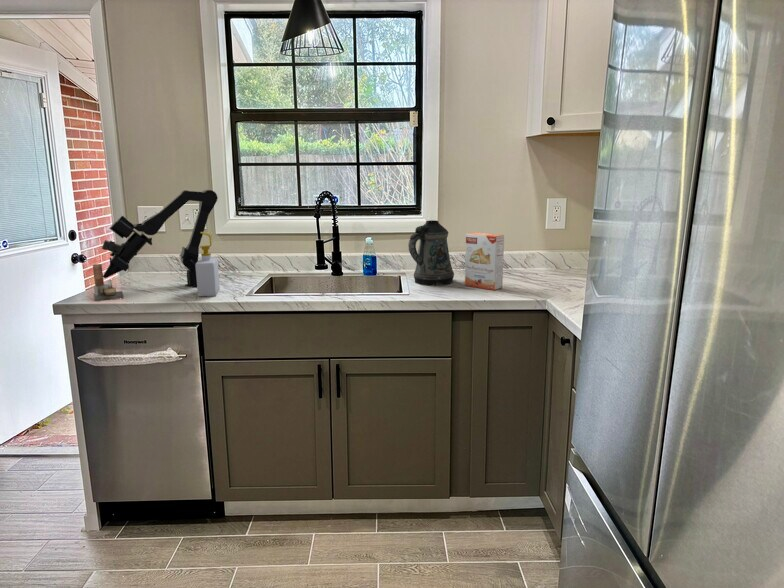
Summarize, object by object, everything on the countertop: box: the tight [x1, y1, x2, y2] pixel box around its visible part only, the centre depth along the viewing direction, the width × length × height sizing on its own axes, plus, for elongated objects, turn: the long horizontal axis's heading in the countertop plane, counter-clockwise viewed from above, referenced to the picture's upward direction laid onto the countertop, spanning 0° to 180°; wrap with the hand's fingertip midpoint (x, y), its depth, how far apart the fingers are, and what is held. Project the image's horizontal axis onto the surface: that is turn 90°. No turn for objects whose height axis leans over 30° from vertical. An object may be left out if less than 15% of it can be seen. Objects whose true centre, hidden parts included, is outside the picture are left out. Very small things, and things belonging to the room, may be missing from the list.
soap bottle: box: [195, 232, 221, 297], centre depth 215 cm, size 12×7×23 cm, turn 10°
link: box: [92, 263, 117, 295], centre depth 212 cm, size 12×4×10 cm, turn 50°
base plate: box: [93, 290, 125, 302], centre depth 212 cm, size 10×9×1 cm
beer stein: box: [407, 219, 455, 287], centre depth 231 cm, size 16×19×25 cm
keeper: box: [93, 280, 113, 296], centre depth 211 cm, size 6×7×6 cm
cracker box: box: [464, 231, 505, 291], centre depth 221 cm, size 14×6×21 cm, turn 47°
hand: (103, 277), depth 216 cm, fingers closed
